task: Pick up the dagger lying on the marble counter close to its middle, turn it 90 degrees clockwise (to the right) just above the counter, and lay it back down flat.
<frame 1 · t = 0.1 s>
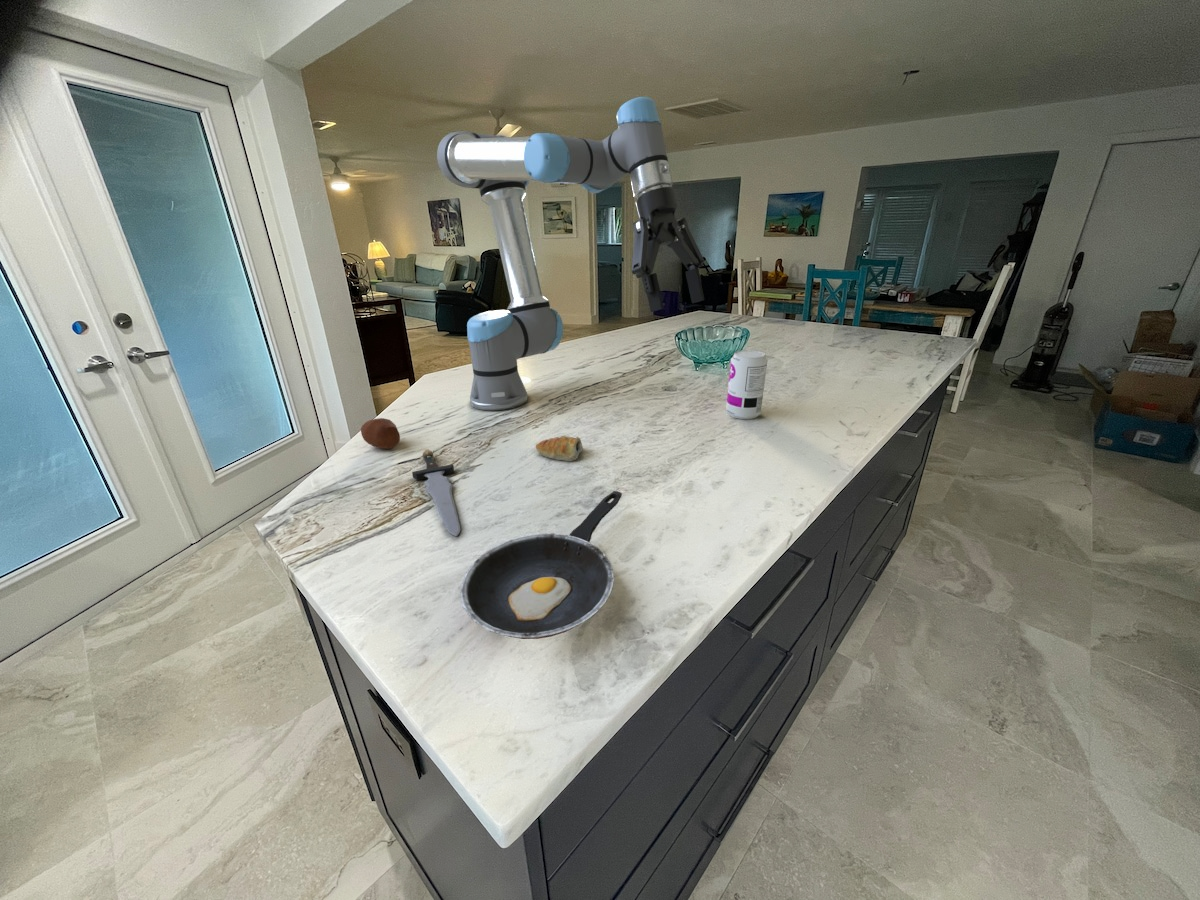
hand: (678, 306, 93), 28 cm above the countertop, tool tilted 20°, fingers open, 13 cm apart
pastry: (561, 455, 97), on the countertop
dagger: (439, 491, 85), on the countertop
supplement can: (742, 414, 115), on the countertop
frying pan: (567, 567, 65), on the countertop
potato: (383, 446, 103), on the countertop
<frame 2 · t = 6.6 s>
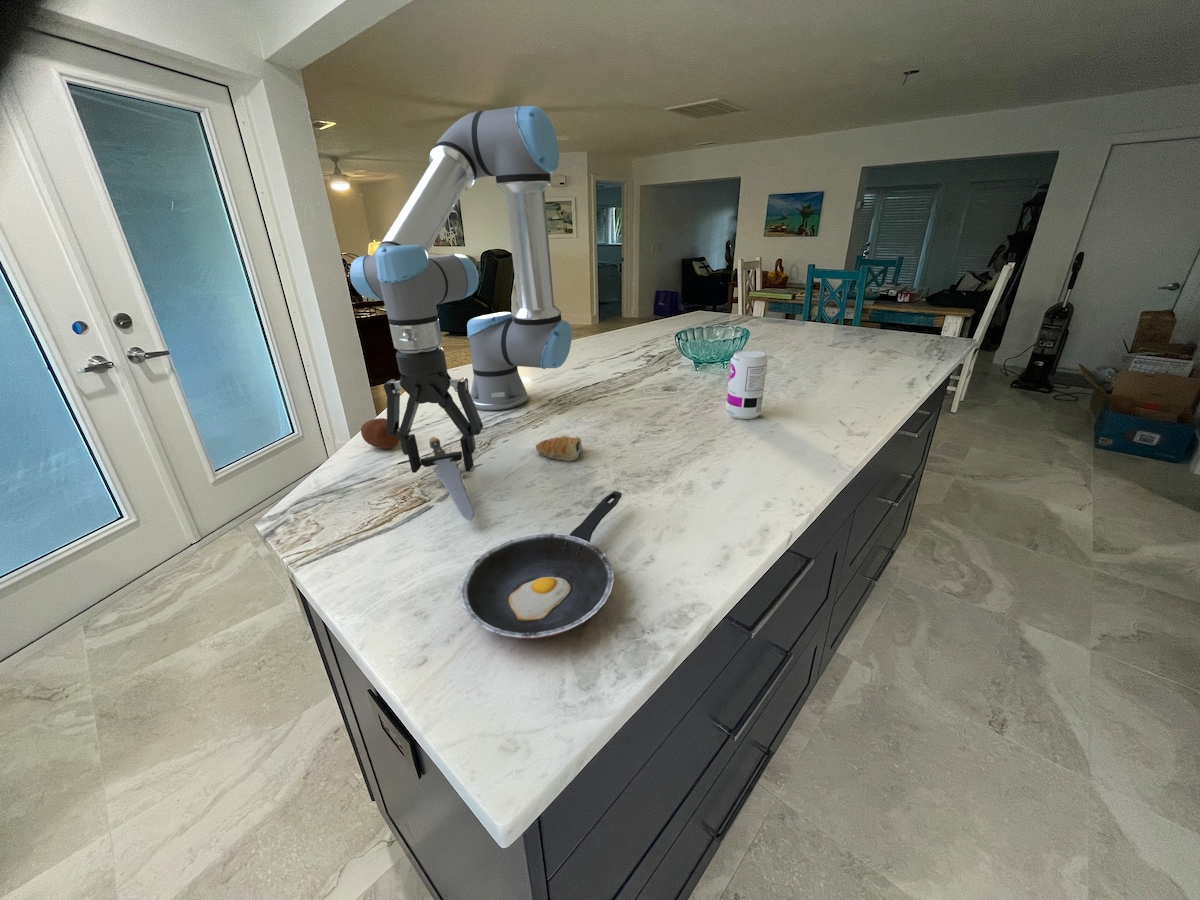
hand: (443, 468, 86), 3 cm above the countertop, tool pointing down, fingers closed on dagger, 9 cm apart
dagger: (449, 477, 84), point 2 cm above the countertop, touching gripper
everything else where it was.
when the fingers open (0 cm above the countertop, at t = 9.3 s): dagger stays where it is, on the countertop.
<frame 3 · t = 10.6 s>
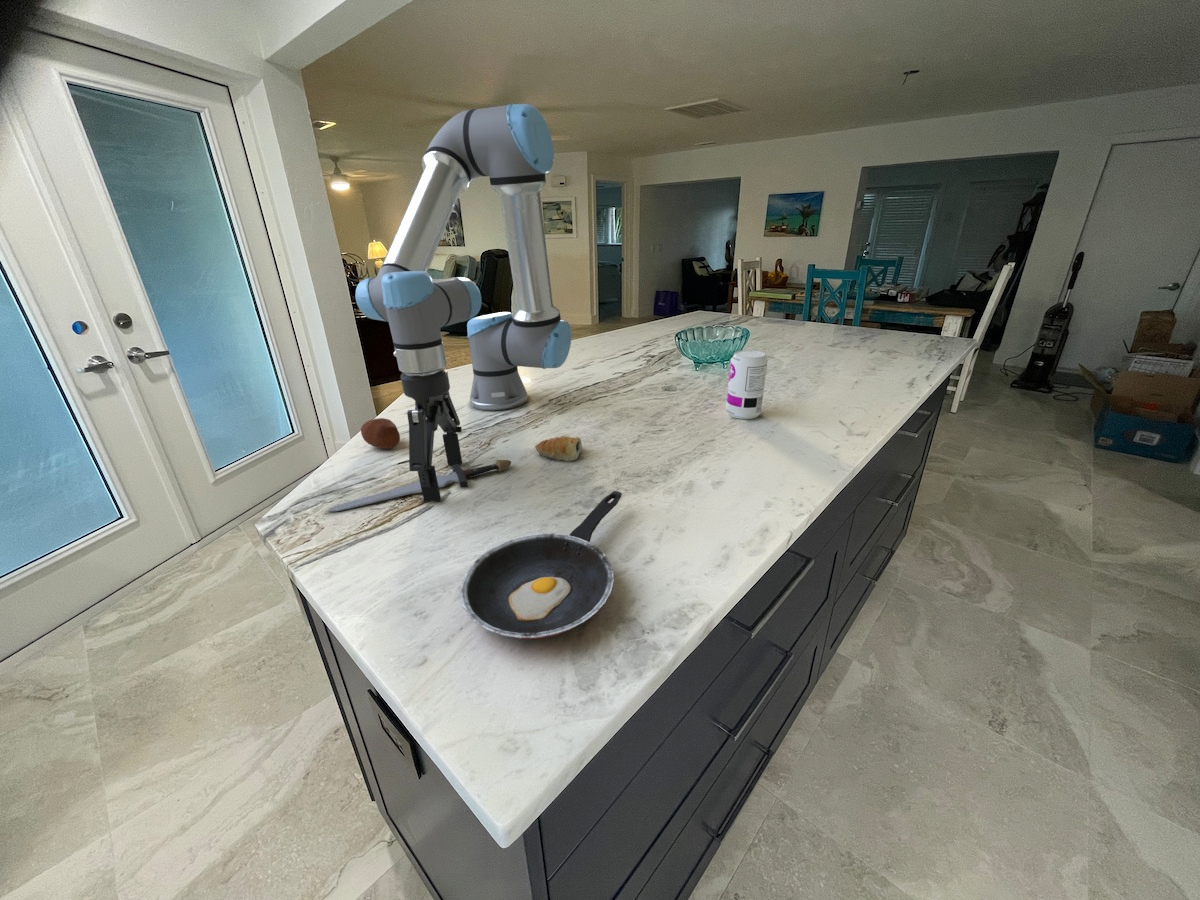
hand: (444, 481, 87), 0 cm above the countertop, tool pointing down, fingers open, 13 cm apart
dagger: (427, 488, 86), on the countertop
everything else where it was.
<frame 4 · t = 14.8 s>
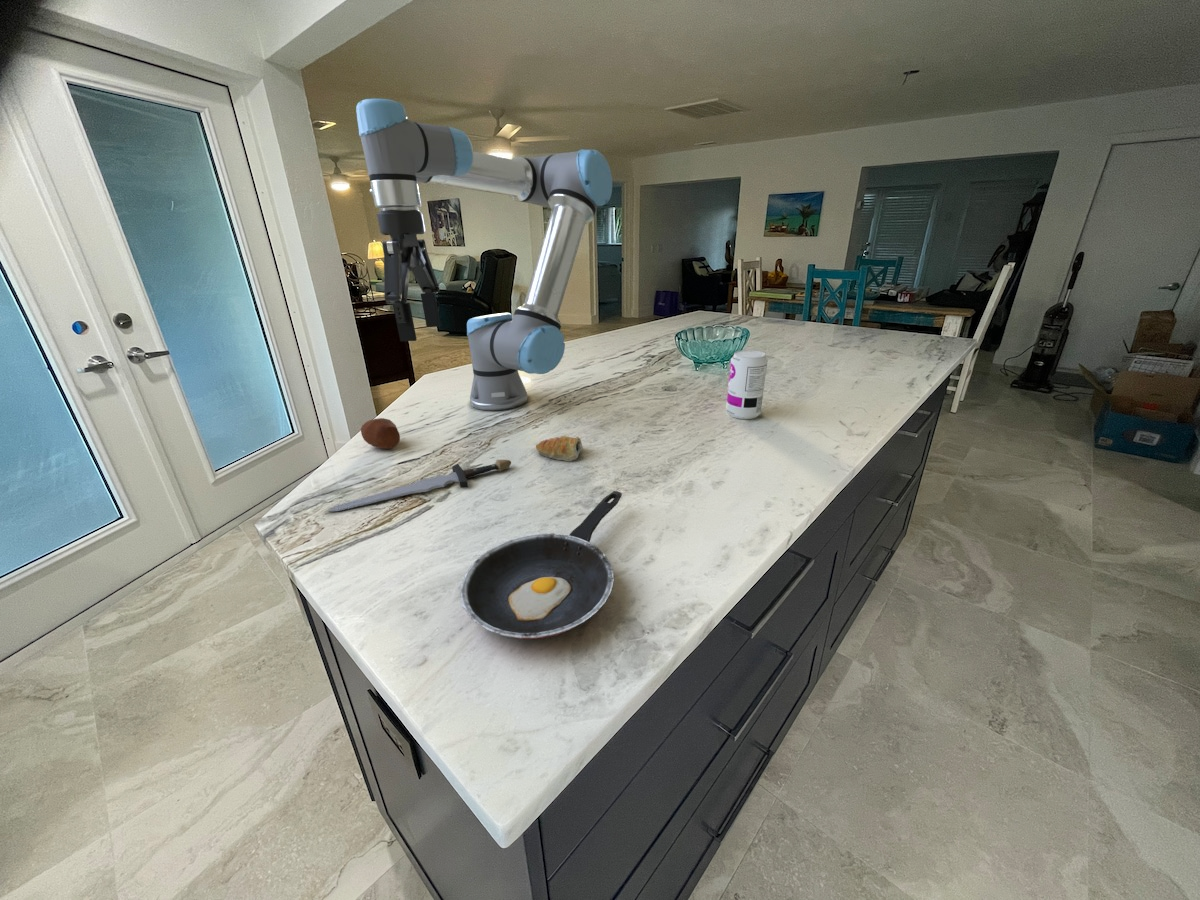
hand: (422, 333, 90), 25 cm above the countertop, tool pointing down, fingers open, 13 cm apart
nothing on the countertop moved.
at the end: dagger 2.3 cm from the target spot, on the countertop; dagger on the countertop; the gripper is holding nothing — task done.
